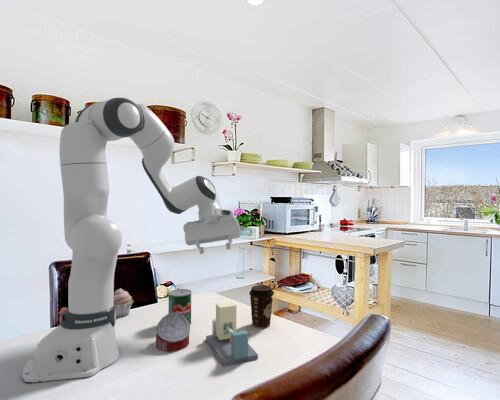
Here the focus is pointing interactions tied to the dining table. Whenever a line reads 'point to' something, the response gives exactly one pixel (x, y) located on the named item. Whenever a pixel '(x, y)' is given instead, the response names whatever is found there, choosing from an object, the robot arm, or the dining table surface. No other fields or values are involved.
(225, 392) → the dining table surface
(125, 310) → the cupcake
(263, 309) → the coffee cup
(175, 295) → the canned tomato
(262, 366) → the dining table surface
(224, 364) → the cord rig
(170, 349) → the canned food
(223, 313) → the sleeve
